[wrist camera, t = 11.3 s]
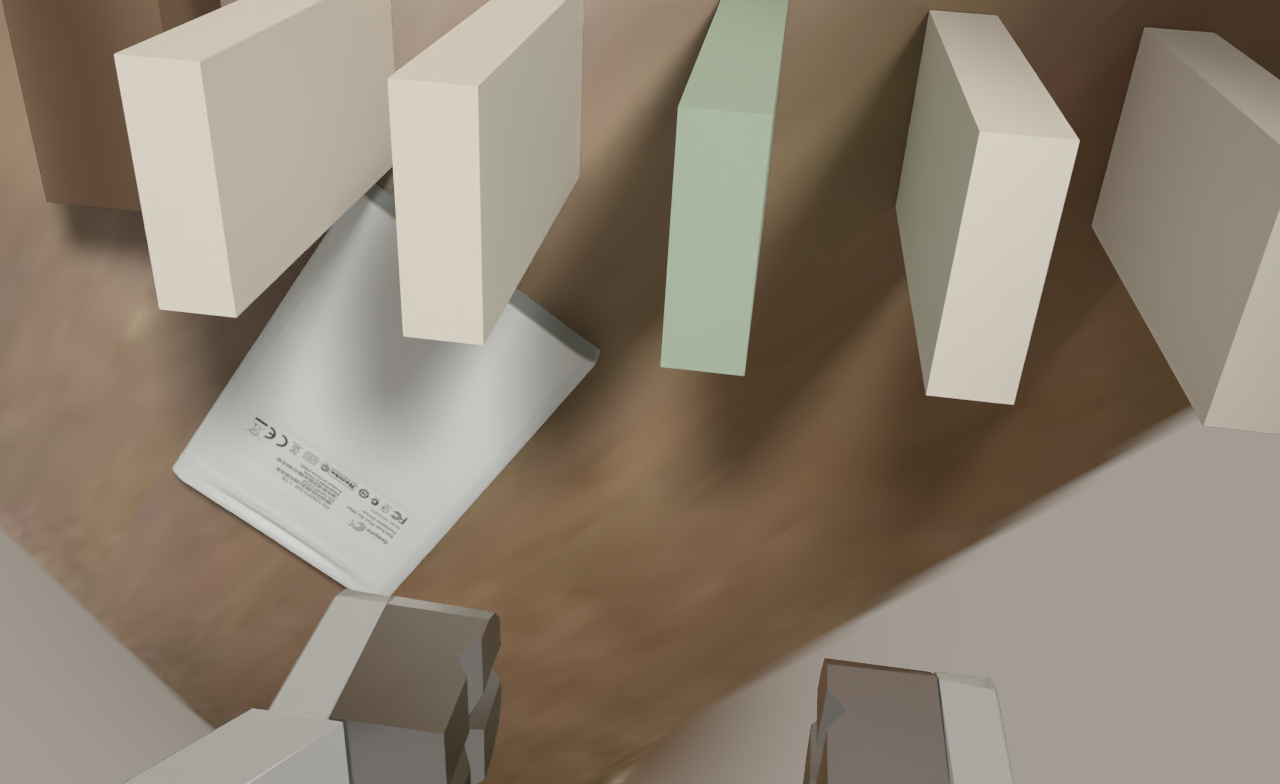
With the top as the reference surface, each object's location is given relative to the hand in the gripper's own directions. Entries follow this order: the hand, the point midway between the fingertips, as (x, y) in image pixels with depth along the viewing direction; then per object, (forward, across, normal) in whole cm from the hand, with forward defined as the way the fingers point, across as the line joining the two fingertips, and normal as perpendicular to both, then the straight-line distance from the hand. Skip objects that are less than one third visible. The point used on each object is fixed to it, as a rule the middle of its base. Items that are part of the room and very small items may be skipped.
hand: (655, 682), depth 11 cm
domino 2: (+21, +6, 0) cm, 22 cm away
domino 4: (+21, -10, 0) cm, 23 cm away
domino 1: (+21, +10, 0) cm, 23 cm away
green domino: (+21, 0, 0) cm, 21 cm away
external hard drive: (+22, +11, +11) cm, 26 cm away
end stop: (+21, +16, 0) cm, 26 cm away
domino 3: (+21, -4, 0) cm, 21 cm away
